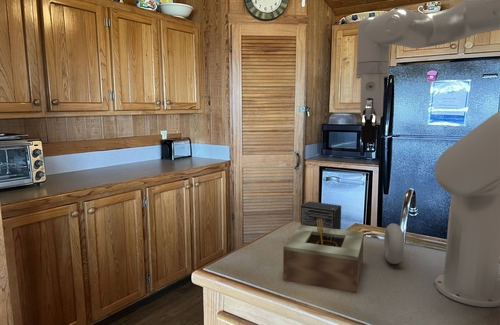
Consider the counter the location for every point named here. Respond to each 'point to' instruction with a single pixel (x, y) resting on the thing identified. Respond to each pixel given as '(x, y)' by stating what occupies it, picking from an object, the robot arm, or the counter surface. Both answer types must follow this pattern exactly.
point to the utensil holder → (326, 242)
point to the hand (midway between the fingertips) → (369, 141)
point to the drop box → (324, 258)
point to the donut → (393, 243)
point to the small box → (321, 215)
